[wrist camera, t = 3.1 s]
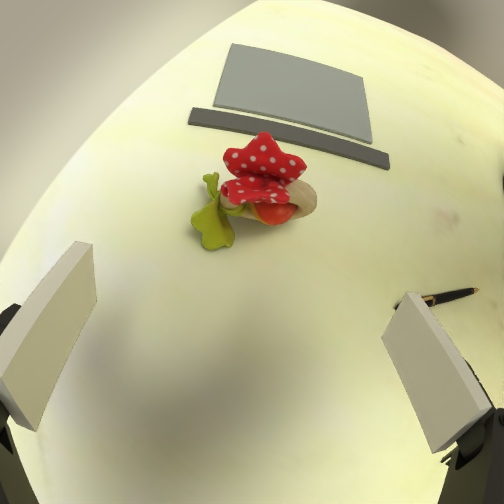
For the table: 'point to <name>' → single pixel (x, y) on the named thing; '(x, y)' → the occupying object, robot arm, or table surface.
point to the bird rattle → (254, 191)
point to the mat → (293, 103)
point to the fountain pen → (447, 296)
